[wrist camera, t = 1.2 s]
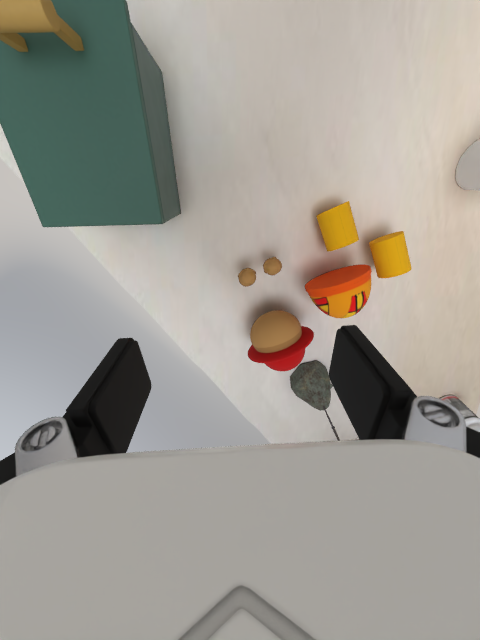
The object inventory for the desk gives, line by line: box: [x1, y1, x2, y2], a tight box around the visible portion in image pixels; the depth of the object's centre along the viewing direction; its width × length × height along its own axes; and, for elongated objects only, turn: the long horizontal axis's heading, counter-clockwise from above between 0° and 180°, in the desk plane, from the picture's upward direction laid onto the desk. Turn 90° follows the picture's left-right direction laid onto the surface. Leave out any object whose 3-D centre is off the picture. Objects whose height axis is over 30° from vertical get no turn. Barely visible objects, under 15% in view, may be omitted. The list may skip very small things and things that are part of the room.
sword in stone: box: [290, 361, 340, 441], centre depth 42 cm, size 10×8×12 cm
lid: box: [0, 0, 164, 227], centre depth 18 cm, size 14×12×5 cm
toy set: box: [238, 201, 411, 371], centre depth 34 cm, size 25×11×19 cm
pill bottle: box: [440, 395, 480, 432], centre depth 48 cm, size 5×5×8 cm
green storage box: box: [130, 22, 181, 223], centre depth 24 cm, size 14×12×9 cm
